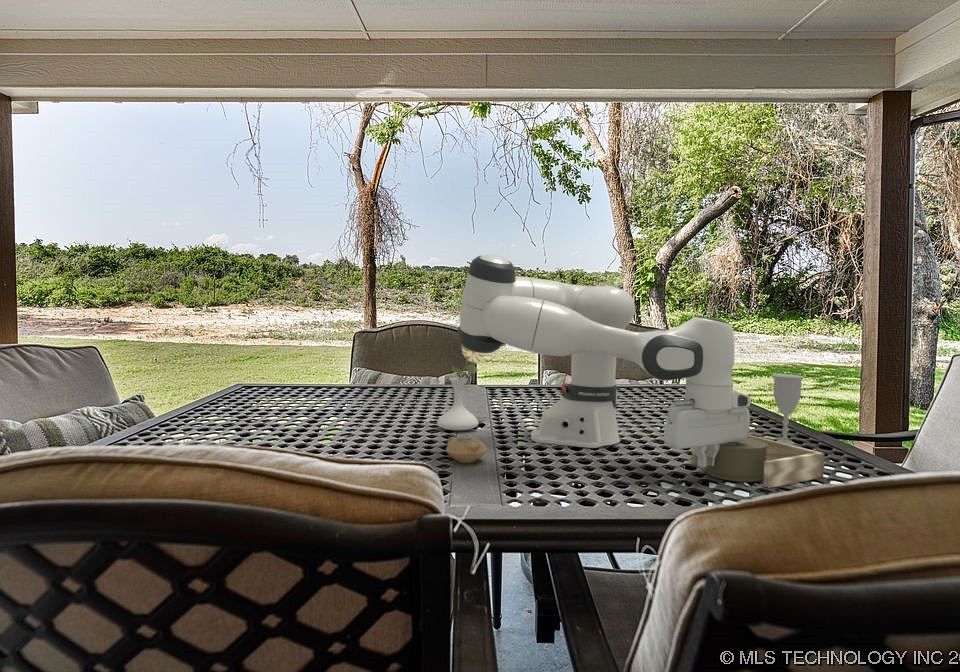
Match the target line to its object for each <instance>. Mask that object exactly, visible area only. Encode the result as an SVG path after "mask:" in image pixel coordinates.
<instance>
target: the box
mask: <svg viewBox="0 0 960 672" xmlns="http://www.w3.org/2000/svg"><path fill="white" fill-rule="evenodd" d="M748 437H751V438H756V439H759V440H762V441H764V442H766V443H767V444H768V447H767V451H766V461H764V479H763V485H762V486H765V487H764V488H766V487H768V488H767V489H771V487H772V488H775V487H781V486H785V485H791V484H796V483H800V482H806V481H811V480H815V479H822V478H824V469H825V452H821V451H817V450H813V449H808V448H804V447H801V446H796V445H794V444H793V445H794V446H793V445H789V444H785V443H781V442H776V441H777V440H776V441H775V440H771V439H767V438H763V437H759V436H755V435H752V434H749V435H748ZM693 448H694V447H692V448H691V462H690V463H691V464H692V465H694V466H695V465H698V464H697V462H698V457H697V456H696V453H695V451H694V449H693ZM704 452H705V451H704Z"/></svg>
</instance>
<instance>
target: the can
mask: <svg viewBox="0 0 960 672" xmlns="http://www.w3.org/2000/svg"><path fill="white" fill-rule="evenodd" d="M767 447H768V444H767V443H766V442H764V441H762V440H759V439H756V438H751V437H747V439H746V440H745V441H739V442H731V443H723V444H720V445H719V451H718V453H717V455H716V457H715V458H714V466H710V467H704V472H705V473H706V475H709V476H711V477H714V478H717V479H720V480H724V481H725V480H726V481H731V482H738V483H739V482H741V483H754V482H755V483H757V482H761V481H764V461H766V451H767ZM707 450H708V447H707ZM707 450H706V451H705V455H706V452H707Z"/></svg>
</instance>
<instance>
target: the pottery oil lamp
mask: <svg viewBox="0 0 960 672" xmlns="http://www.w3.org/2000/svg"><path fill="white" fill-rule="evenodd" d="M446 444H447V446H446V448H445V452H446V453H447V454H448V455H449V457H451V458H453V459H454V460H456V462H458V463H463V464H470V463H471V462H472V463H474V462H476V460H478V459H481V457H482V456H484V455H485V454H486V453H487V452H488V450H489V448H488V446H486V445H485V443H484V442H483V441H482V440H480V439H479V438H476V437H463V436H450V437H448V438H447V443H446ZM472 463H471V464H472Z"/></svg>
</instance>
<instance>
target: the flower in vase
mask: <svg viewBox="0 0 960 672" xmlns="http://www.w3.org/2000/svg"><path fill="white" fill-rule="evenodd" d="M461 351H462V352H461V354H462V355H463V357H464V358H465V359H466V361H465V364H464V367H463V369H462V370H461V369H459V368H457V367H455V366H453V365H452V366H451V371H452V372H453V373H457V374H459V376H457V377H449V378H448V379H449V381H450V383H451V385H452V389H453V403H452V406H451V407H450V408H449V409H448V410H447V411H446V412H444V413H443V414H442V415H441V416H440V417H439V418H438V419H437V421H436V424H437V426H438V427H439V428H441V429H444V430H449V431H469V430H472V429H474V428H476V427H478V426H479V424H480V423H479V420H478V419H477V417H476V416H475V415H474V414H473V413H471V412H470V411H469V410H468V409H466V408H465V406H464V404H463V391H464V387H465V383H467V381H468V378H467V377H462V375H463V374H464V372H465V370H466V371H467V372H468V373H469V374H475V373H477V372H479V369H478V368H477V366H475V365H479V364H480V362H483V361H484V360H485V357H484V356H485V355H486V353H477V352H473V351H471V350H468V349H466V348H465V347H463V346H462V345H461ZM468 362H470V363H472V364H468ZM473 364H475V365H473Z"/></svg>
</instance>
